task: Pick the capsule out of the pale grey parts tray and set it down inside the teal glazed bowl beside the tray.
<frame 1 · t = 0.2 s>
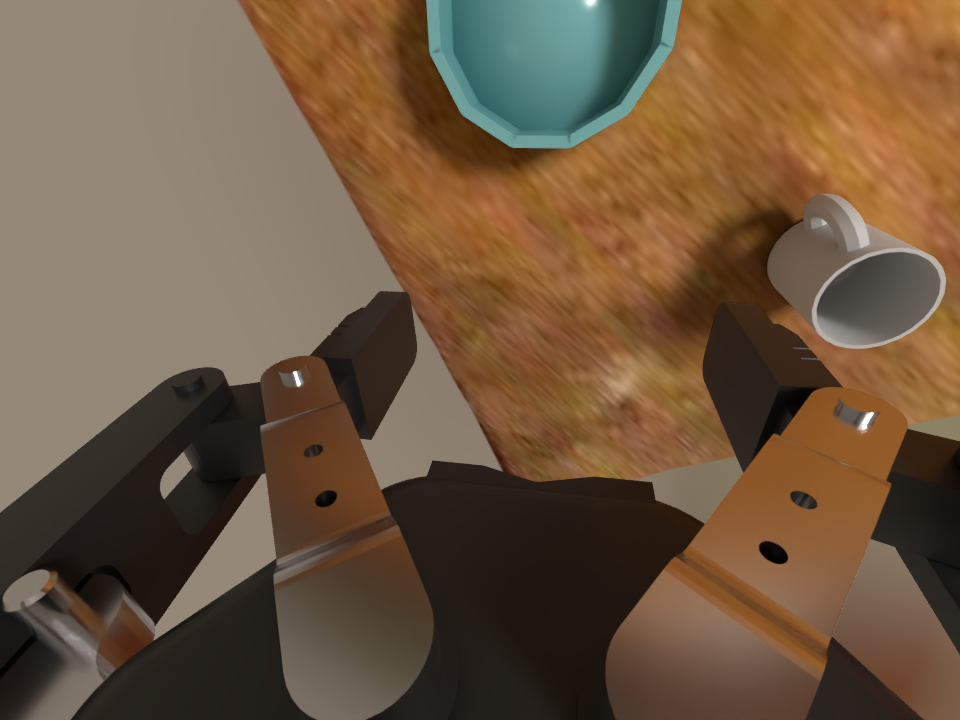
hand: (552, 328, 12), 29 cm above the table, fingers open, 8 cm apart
cup: (809, 240, 36), on the table
bowl: (551, 17, 31), on the table
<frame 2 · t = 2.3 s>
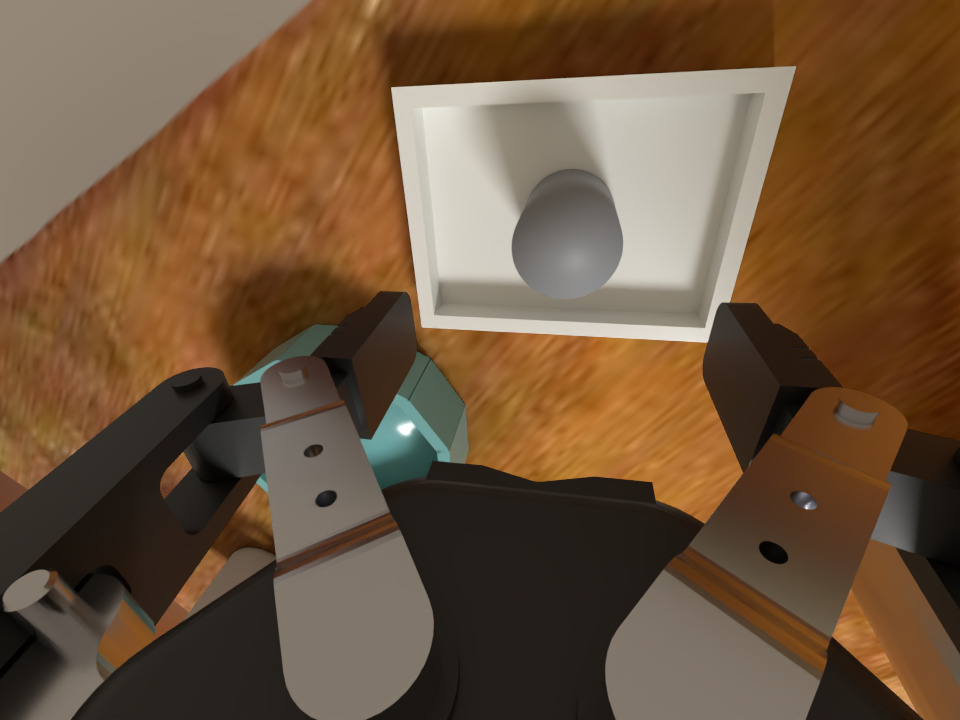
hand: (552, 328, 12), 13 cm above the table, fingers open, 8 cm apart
cup: (273, 562, 47), on the table
tray: (568, 213, 22), on the table
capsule: (568, 216, 22), point 1 cm above the table, touching tray
bowl: (365, 418, 33), on the table
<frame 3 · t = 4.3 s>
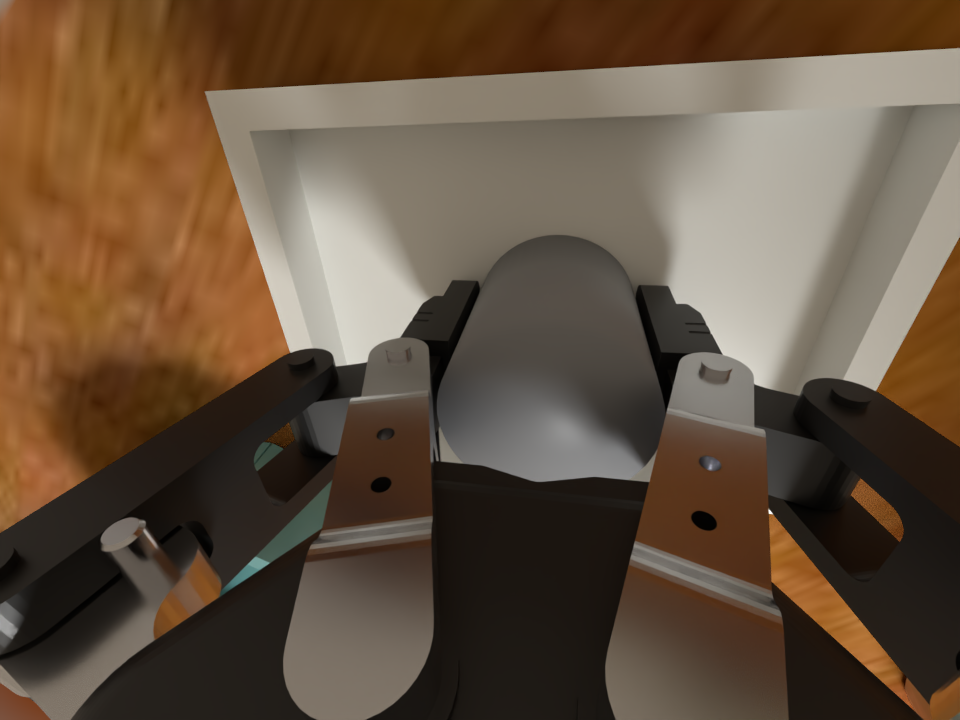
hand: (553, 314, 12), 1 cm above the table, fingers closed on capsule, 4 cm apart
tray: (555, 301, 13), on the table
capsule: (554, 310, 13), point 1 cm above the table, touching gripper, tray
bowl: (280, 546, 24), on the table
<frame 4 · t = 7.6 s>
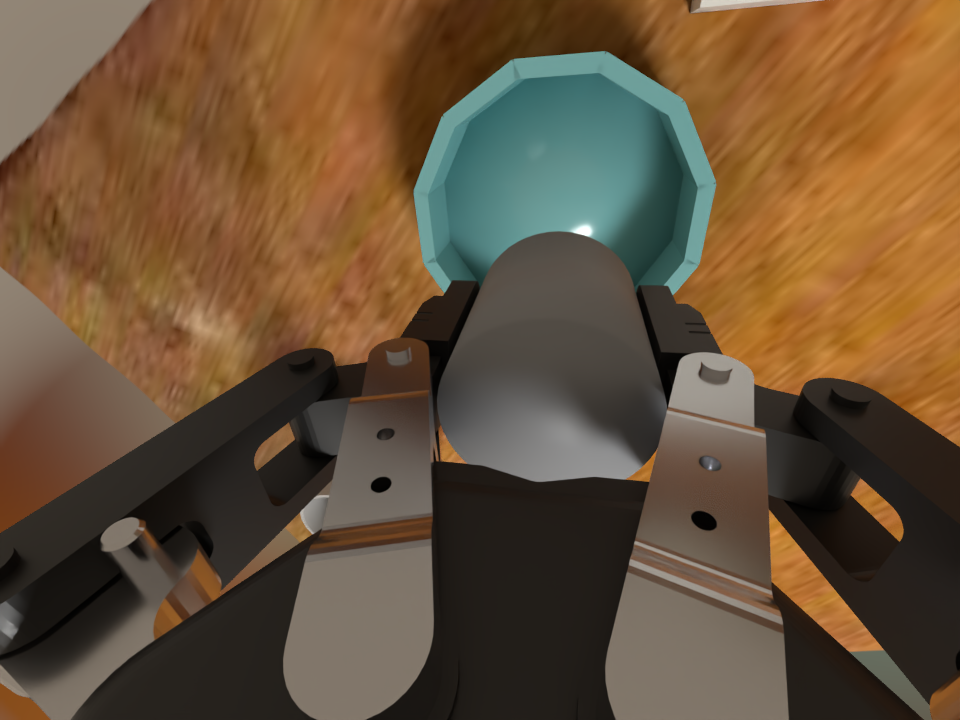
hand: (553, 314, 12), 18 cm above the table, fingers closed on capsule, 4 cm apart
cup: (393, 443, 43), on the table
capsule: (555, 307, 13), point 17 cm above the table, touching gripper
bowl: (557, 207, 28), on the table
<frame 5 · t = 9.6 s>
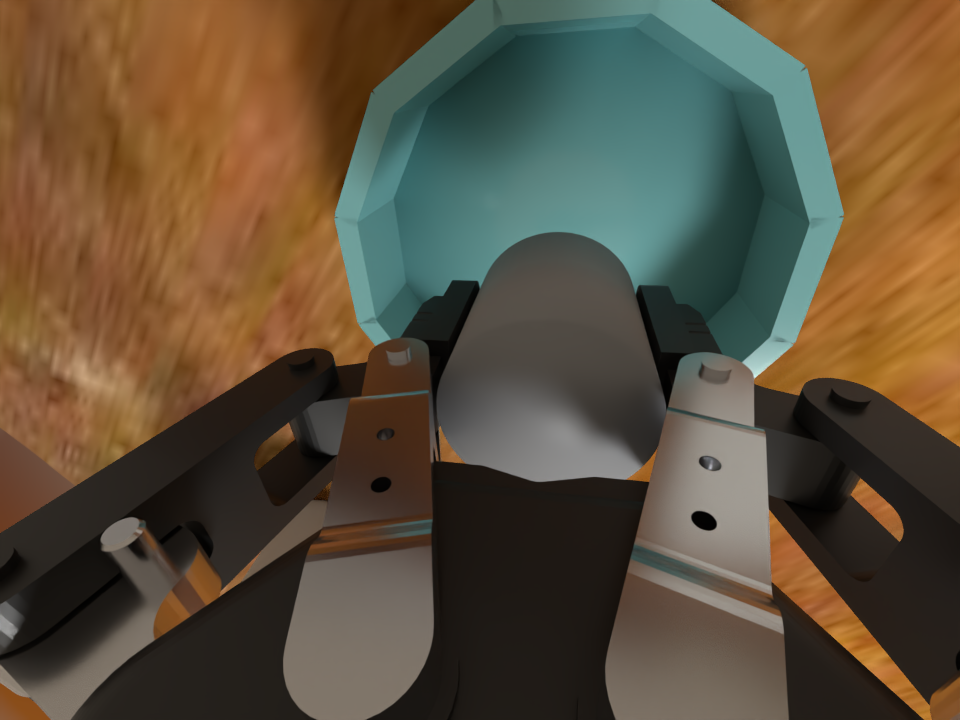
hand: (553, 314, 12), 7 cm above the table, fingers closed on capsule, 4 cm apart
cup: (347, 523, 33), on the table
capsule: (554, 307, 13), point 7 cm above the table, touching gripper
bowl: (563, 238, 19), on the table
when the fingers open (4 cm above the table, at t = 11.2 s): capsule drops 3 cm, resting on bowl.
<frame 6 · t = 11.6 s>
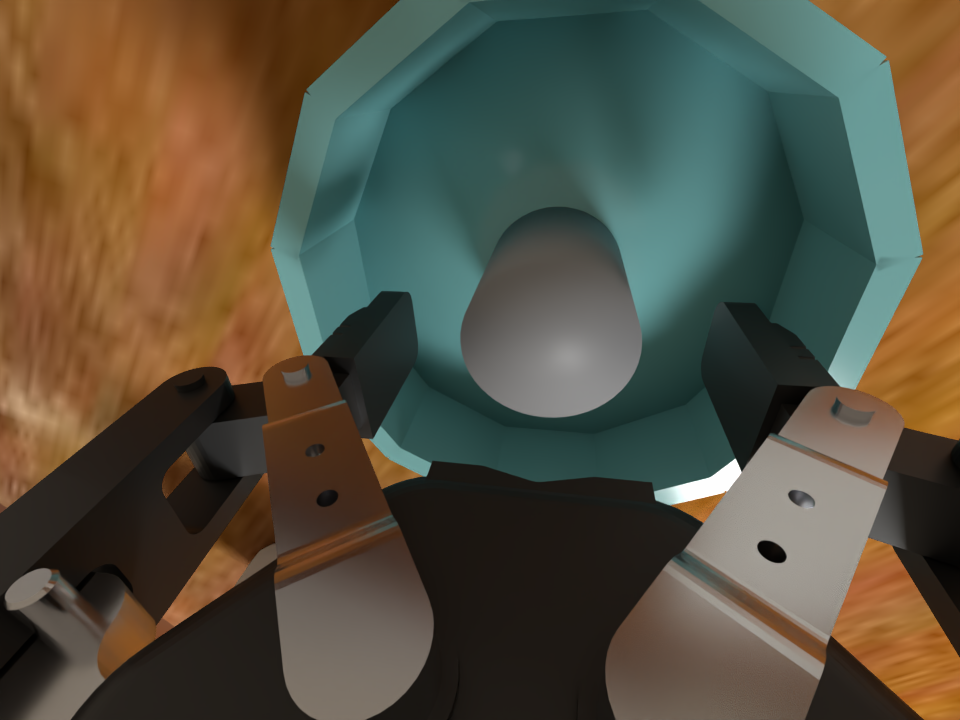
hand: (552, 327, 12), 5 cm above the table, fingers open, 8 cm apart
cup: (321, 566, 30), on the table
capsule: (554, 273, 15), point 1 cm above the table, touching bowl
bowl: (557, 266, 16), on the table
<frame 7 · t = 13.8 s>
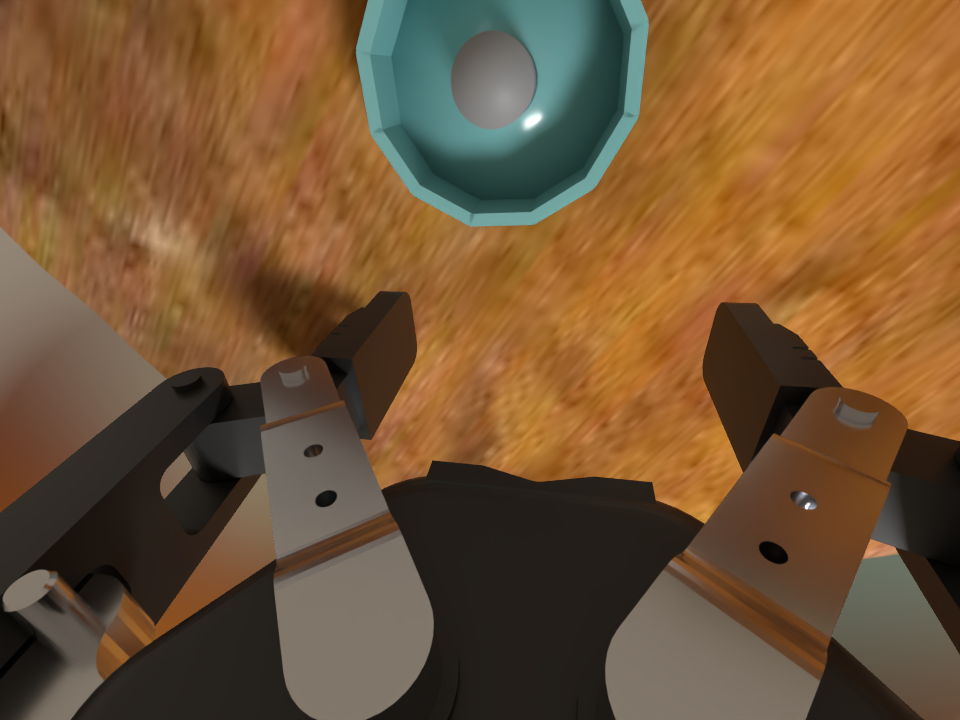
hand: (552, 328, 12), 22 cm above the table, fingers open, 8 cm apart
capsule: (502, 81, 27), point 1 cm above the table, touching bowl
bowl: (504, 82, 28), on the table
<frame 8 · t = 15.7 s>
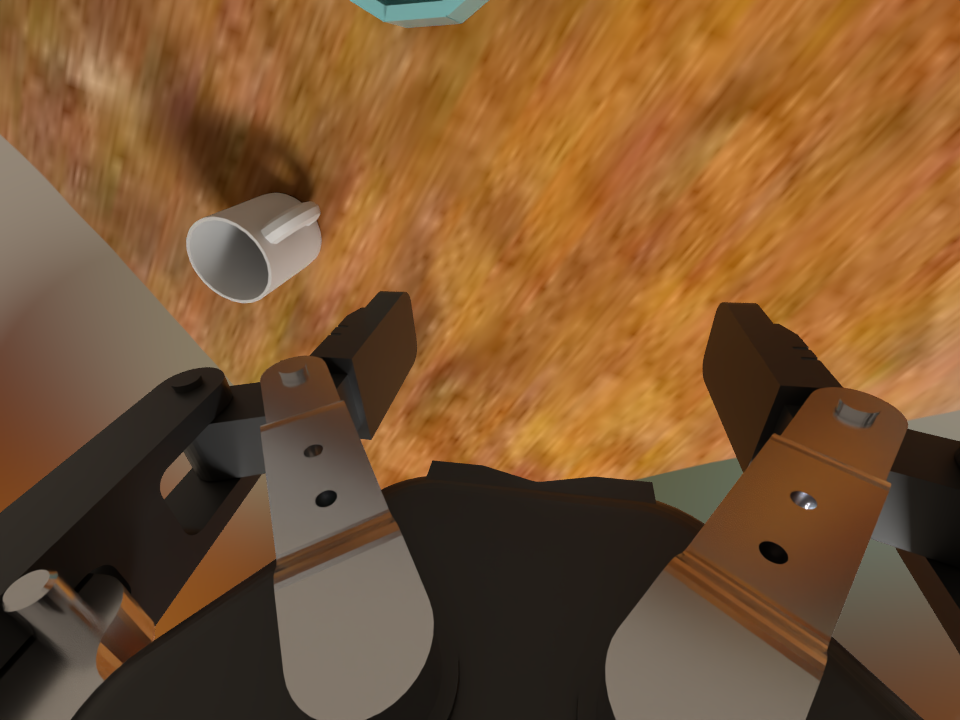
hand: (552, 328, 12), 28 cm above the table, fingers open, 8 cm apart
cup: (299, 222, 42), on the table
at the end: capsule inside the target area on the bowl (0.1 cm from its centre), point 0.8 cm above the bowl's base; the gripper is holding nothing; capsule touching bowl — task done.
